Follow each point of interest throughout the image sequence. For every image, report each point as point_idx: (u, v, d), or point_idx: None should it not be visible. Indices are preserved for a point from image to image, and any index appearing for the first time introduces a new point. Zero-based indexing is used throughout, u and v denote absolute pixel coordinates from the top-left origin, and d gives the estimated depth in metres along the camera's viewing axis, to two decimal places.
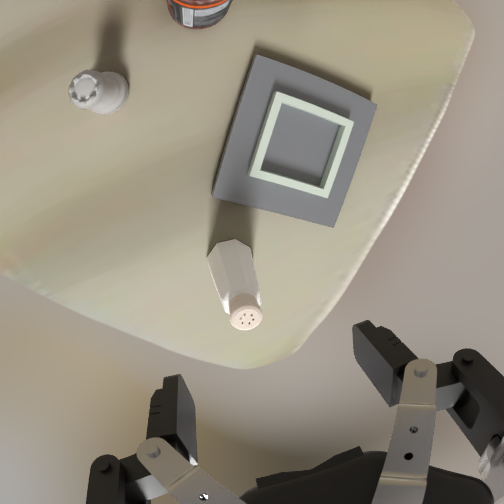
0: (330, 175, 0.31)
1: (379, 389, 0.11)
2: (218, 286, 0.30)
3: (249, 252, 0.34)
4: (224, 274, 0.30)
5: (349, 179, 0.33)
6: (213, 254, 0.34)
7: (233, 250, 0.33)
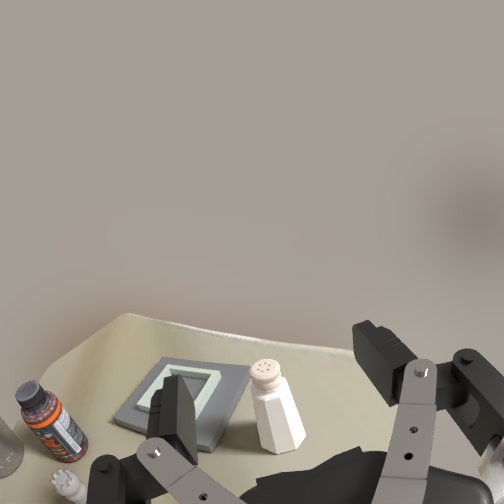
0: (202, 371, 0.40)
1: (379, 389, 0.11)
2: (266, 415, 0.27)
3: None
4: (257, 414, 0.27)
5: (212, 363, 0.43)
6: (267, 445, 0.28)
7: None
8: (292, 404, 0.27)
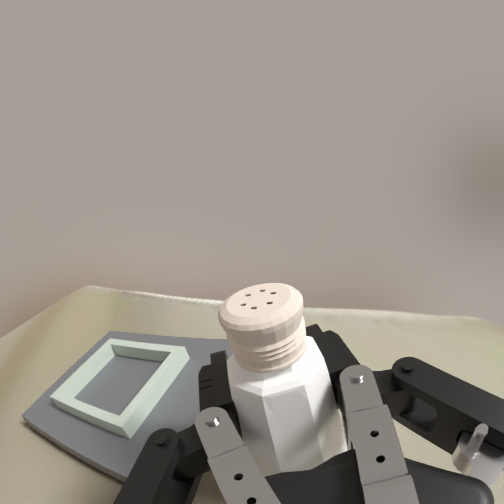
0: (157, 348, 0.23)
1: None
2: (267, 434, 0.10)
3: None
4: (244, 431, 0.11)
5: (178, 338, 0.26)
6: None
7: None
8: (331, 404, 0.11)
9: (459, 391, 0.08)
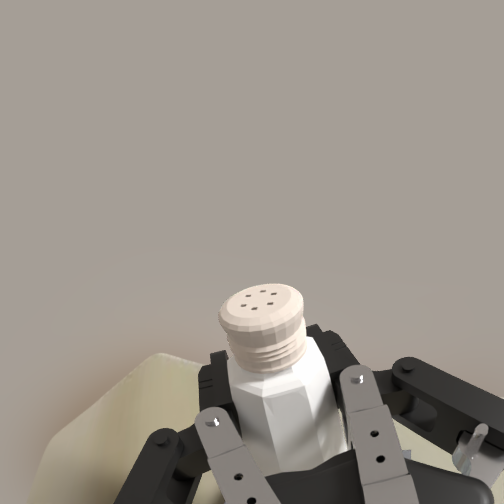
0: None
1: None
2: (267, 435, 0.10)
3: None
4: (244, 431, 0.11)
5: None
6: None
7: None
8: (332, 404, 0.11)
9: (459, 391, 0.08)
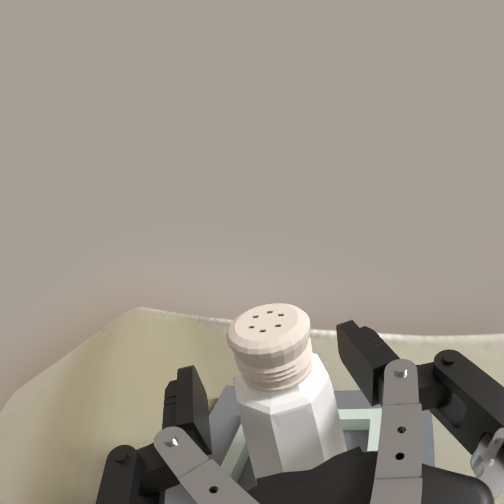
0: (344, 416, 0.16)
1: (362, 389, 0.12)
2: (274, 448, 0.10)
3: None
4: (251, 444, 0.11)
5: (346, 392, 0.19)
6: None
7: None
8: (335, 417, 0.11)
9: (490, 391, 0.07)
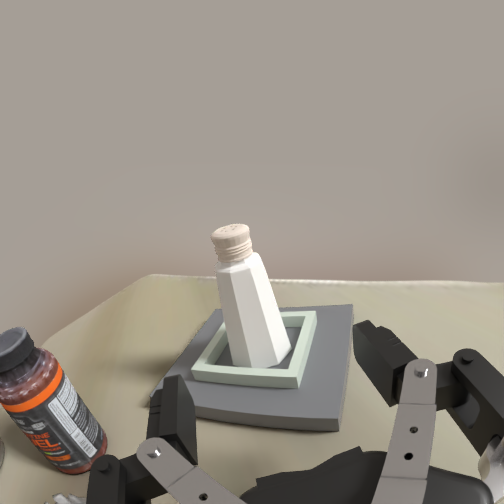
0: (289, 315, 0.28)
1: (379, 389, 0.11)
2: (234, 299, 0.22)
3: None
4: (223, 303, 0.23)
5: (295, 308, 0.31)
6: (239, 357, 0.24)
7: None
8: (268, 288, 0.23)
9: None
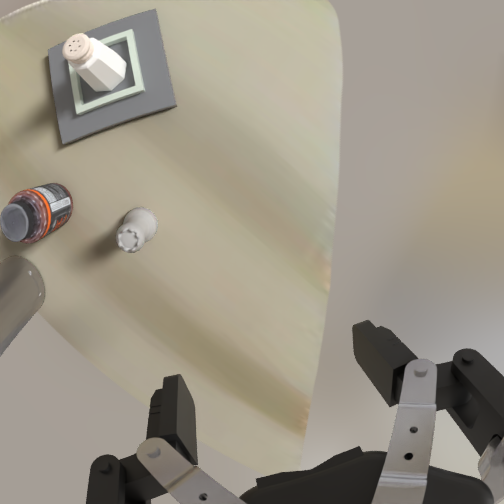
0: (113, 39, 0.28)
1: (379, 389, 0.11)
2: (92, 74, 0.25)
3: None
4: (83, 77, 0.25)
5: (111, 23, 0.28)
6: (100, 88, 0.30)
7: None
8: (108, 53, 0.24)
9: None
